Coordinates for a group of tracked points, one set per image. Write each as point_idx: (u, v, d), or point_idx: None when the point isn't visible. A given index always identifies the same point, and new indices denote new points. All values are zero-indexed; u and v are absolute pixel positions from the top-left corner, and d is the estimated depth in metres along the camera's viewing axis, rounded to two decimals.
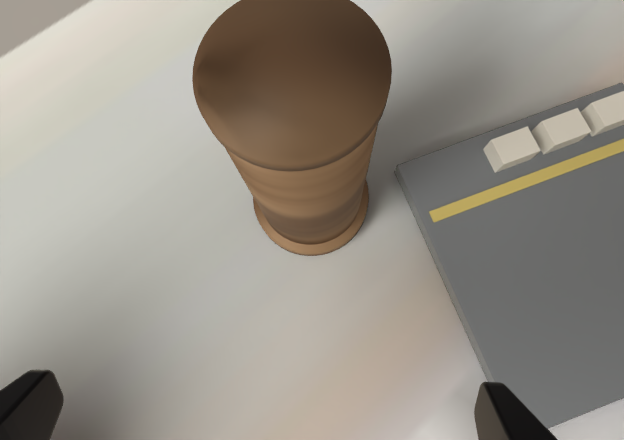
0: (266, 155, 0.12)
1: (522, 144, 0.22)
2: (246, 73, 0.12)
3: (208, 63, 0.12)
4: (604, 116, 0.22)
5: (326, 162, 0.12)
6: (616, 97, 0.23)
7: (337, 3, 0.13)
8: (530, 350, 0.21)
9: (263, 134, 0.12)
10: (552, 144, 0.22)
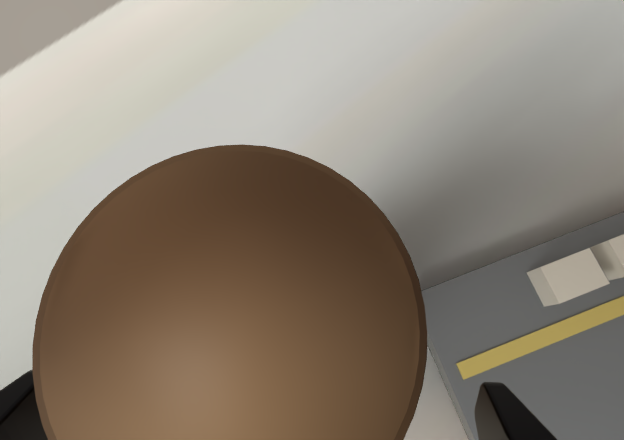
0: None
1: (584, 274, 0.16)
2: (139, 333, 0.06)
3: (67, 309, 0.06)
4: None
5: None
6: None
7: (319, 182, 0.07)
8: None
9: None
10: None
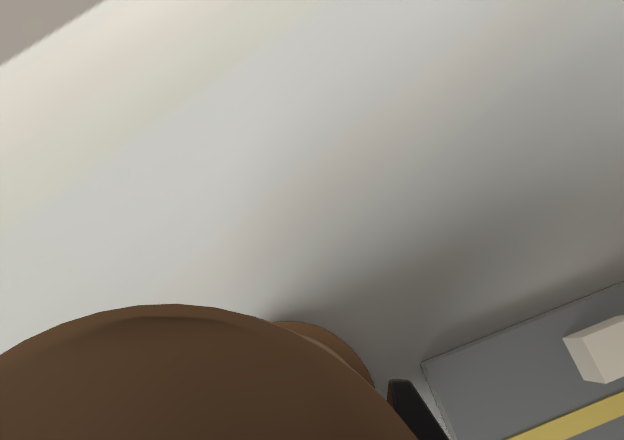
0: None
1: None
2: None
3: None
4: None
5: None
6: None
7: (307, 377, 0.04)
8: None
9: None
10: None
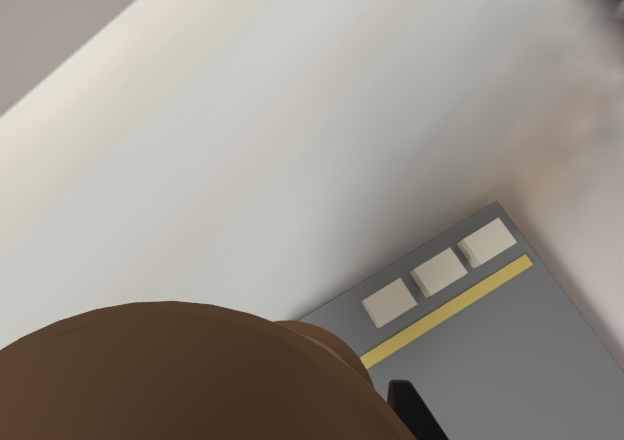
0: None
1: (397, 300, 0.20)
2: None
3: None
4: (479, 252, 0.21)
5: None
6: (488, 228, 0.21)
7: (303, 374, 0.04)
8: None
9: None
10: (429, 294, 0.20)
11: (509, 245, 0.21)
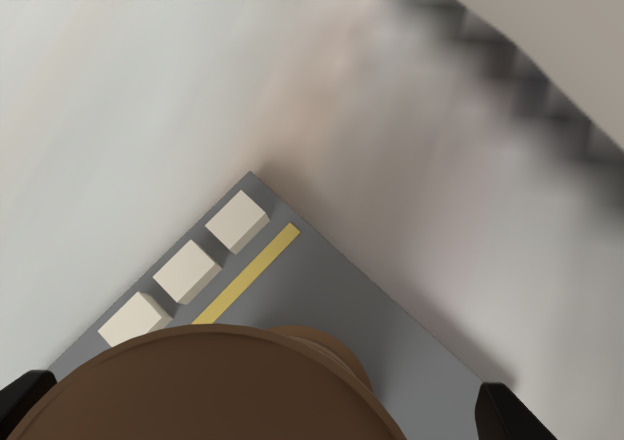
0: None
1: (137, 319, 0.17)
2: None
3: None
4: (224, 236, 0.17)
5: None
6: (232, 205, 0.18)
7: (315, 378, 0.05)
8: None
9: None
10: (176, 301, 0.17)
11: (257, 218, 0.17)
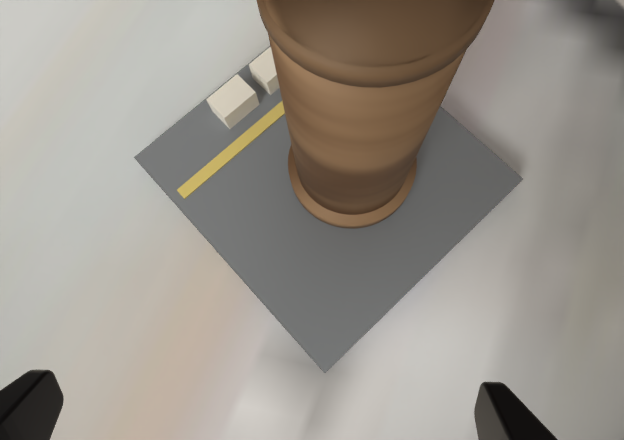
0: (341, 61, 0.09)
1: (237, 92, 0.22)
2: None
3: None
4: None
5: (413, 77, 0.10)
6: None
7: None
8: (310, 284, 0.21)
9: (339, 36, 0.09)
10: (266, 83, 0.22)
11: None
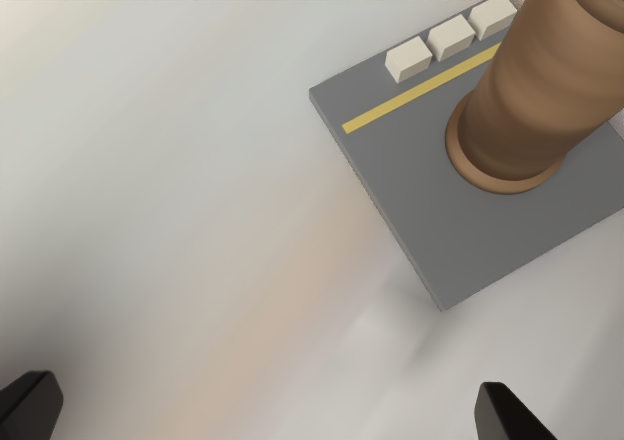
0: None
1: (415, 51, 0.24)
2: None
3: None
4: (485, 18, 0.25)
5: None
6: (494, 0, 0.25)
7: None
8: (446, 232, 0.23)
9: None
10: (442, 49, 0.24)
11: (511, 13, 0.25)
